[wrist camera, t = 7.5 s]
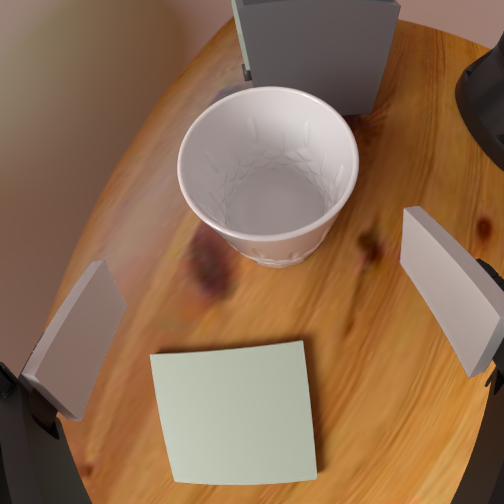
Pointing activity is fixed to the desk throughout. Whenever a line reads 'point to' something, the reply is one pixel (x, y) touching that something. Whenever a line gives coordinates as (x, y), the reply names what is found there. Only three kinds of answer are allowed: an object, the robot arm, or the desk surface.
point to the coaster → (236, 414)
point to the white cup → (269, 172)
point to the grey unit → (318, 47)
